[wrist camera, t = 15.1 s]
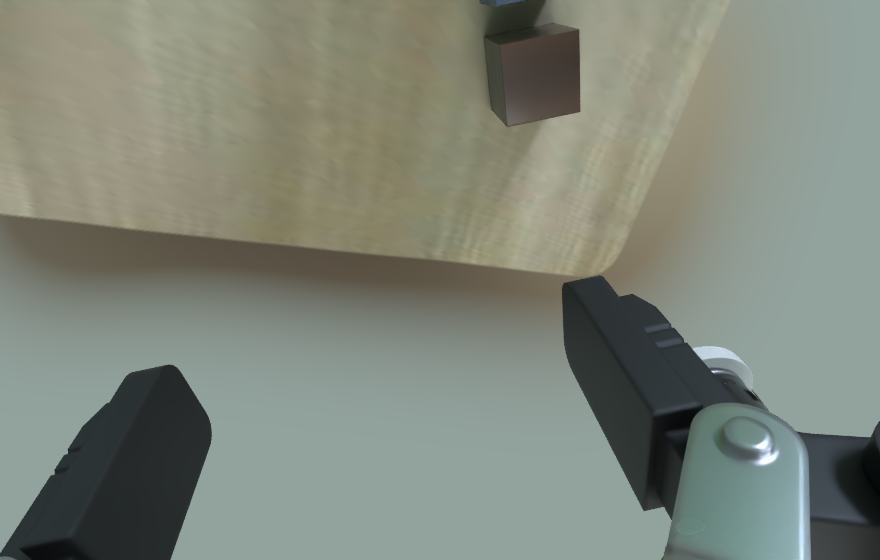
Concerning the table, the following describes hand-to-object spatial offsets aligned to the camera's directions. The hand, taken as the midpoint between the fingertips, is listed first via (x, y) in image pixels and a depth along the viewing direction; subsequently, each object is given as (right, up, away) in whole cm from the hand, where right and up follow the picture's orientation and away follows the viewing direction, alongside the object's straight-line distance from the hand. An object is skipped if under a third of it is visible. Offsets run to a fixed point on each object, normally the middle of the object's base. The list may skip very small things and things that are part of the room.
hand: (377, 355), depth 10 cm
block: (+7, +16, +22) cm, 28 cm away
